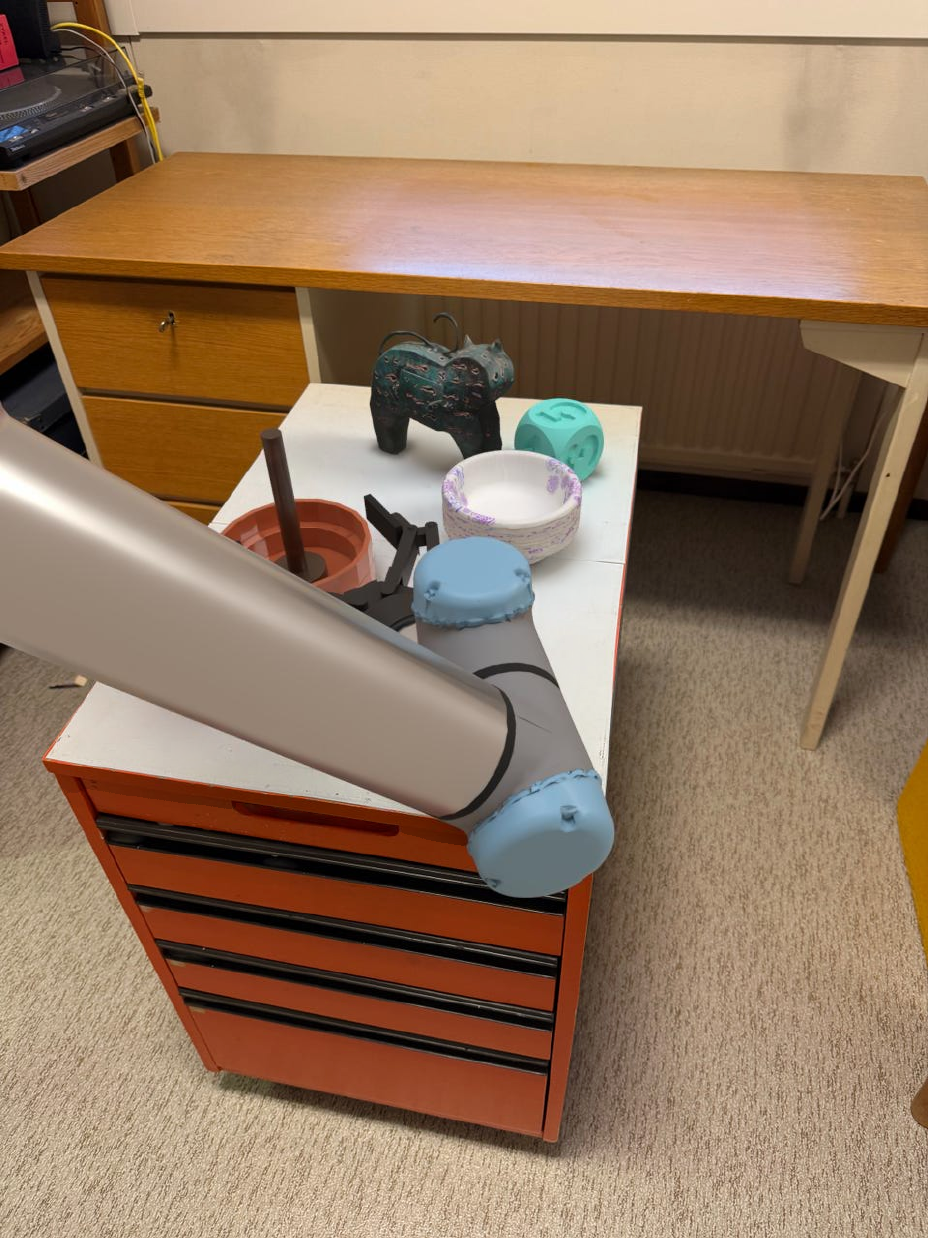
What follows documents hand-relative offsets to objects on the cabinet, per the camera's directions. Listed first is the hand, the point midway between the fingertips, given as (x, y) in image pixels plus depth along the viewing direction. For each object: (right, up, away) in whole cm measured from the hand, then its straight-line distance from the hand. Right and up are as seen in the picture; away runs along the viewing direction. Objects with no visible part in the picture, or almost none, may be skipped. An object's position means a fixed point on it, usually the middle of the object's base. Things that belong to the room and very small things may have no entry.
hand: (305, 528), depth 84 cm
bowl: (-2, -5, +11) cm, 12 cm away
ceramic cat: (+12, +11, +29) cm, 33 cm away
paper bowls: (+21, 0, +16) cm, 26 cm away
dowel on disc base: (-2, -5, +10) cm, 12 cm away
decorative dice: (+27, +10, +27) cm, 39 cm away
